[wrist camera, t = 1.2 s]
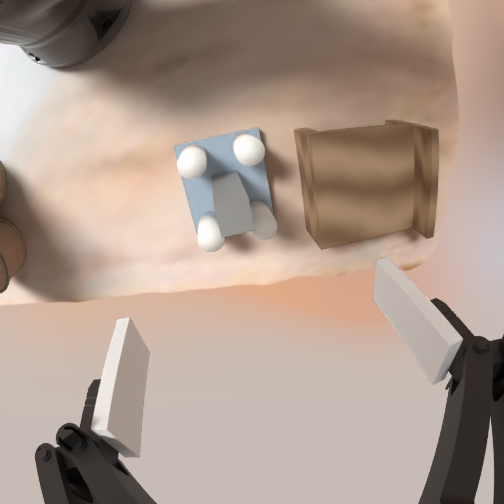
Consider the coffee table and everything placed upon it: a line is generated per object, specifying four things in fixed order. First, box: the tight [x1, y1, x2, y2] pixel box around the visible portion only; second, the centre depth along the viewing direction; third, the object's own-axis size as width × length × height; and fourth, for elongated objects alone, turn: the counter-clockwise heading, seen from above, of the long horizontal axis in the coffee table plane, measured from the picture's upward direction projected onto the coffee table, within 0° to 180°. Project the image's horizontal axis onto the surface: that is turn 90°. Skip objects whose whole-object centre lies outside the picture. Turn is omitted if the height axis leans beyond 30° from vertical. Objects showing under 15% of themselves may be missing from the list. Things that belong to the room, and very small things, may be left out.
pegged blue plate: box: [174, 127, 277, 252], centre depth 31 cm, size 12×10×12 cm
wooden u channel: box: [294, 120, 439, 250], centre depth 34 cm, size 14×15×10 cm
